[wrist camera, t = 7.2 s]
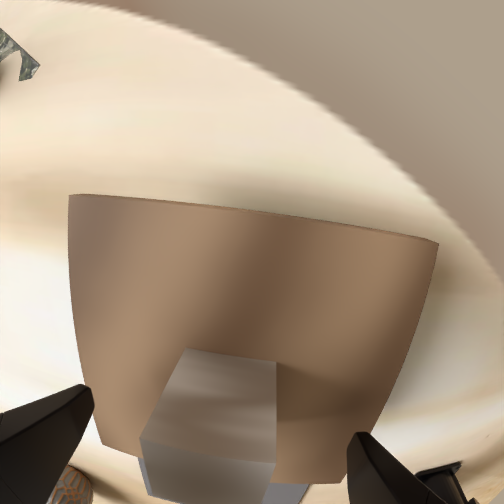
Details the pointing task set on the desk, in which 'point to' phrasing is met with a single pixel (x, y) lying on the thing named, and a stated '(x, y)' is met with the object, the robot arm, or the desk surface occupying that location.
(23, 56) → the eiffel tower figurine
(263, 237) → the lid
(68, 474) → the vase
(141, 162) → the desk surface
